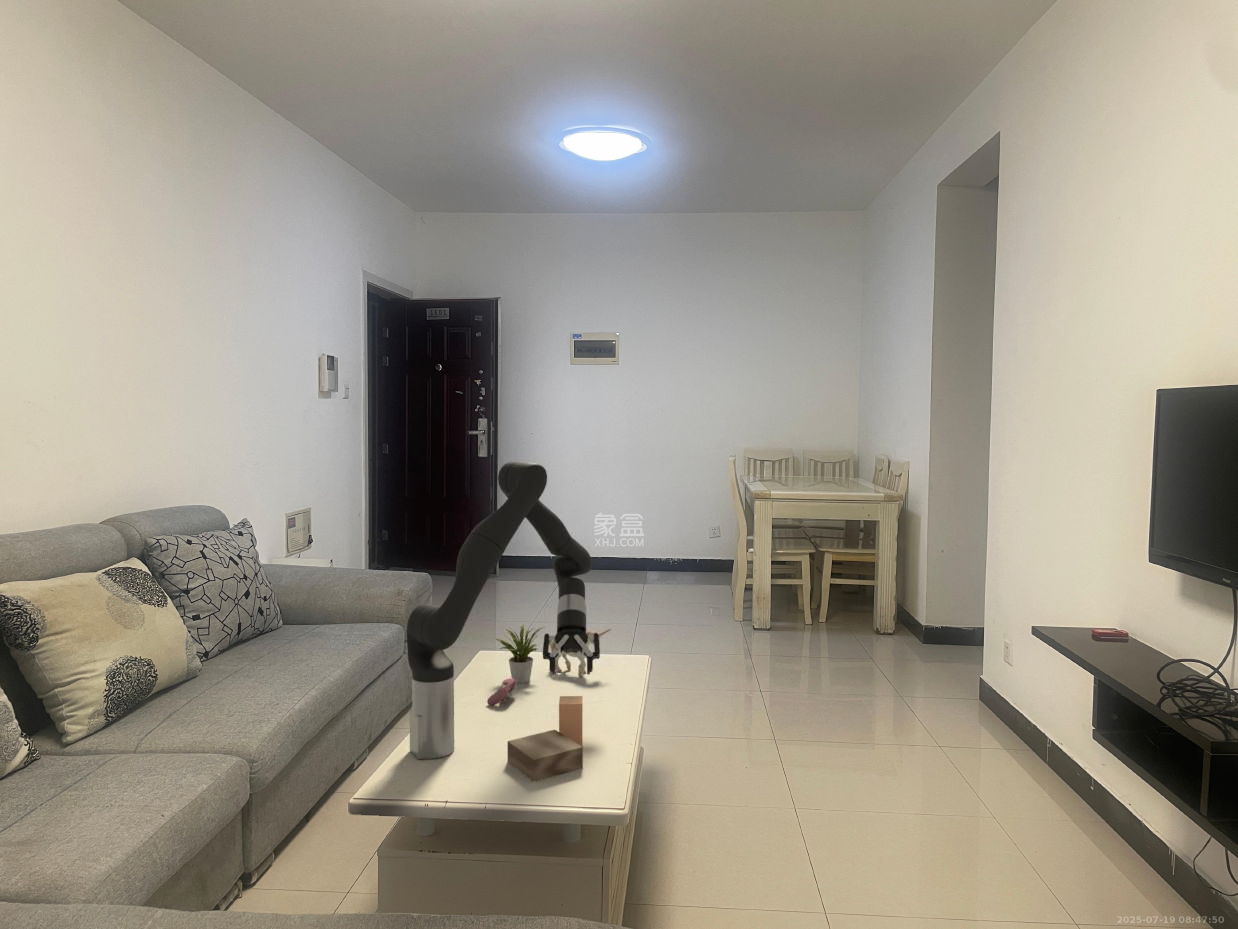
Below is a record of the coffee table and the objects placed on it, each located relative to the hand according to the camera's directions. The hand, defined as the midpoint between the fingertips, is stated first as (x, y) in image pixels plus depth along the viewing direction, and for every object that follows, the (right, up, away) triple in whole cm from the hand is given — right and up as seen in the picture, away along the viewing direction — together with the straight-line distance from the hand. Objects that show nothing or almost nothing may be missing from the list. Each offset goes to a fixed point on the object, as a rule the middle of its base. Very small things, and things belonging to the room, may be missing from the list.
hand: (571, 673), depth 195 cm
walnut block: (-4, -15, -21) cm, 26 cm away
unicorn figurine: (0, -11, +46) cm, 47 cm away
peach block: (0, -14, -9) cm, 16 cm away
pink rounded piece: (-20, -13, +19) cm, 30 cm away
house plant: (-16, -12, +38) cm, 43 cm away
